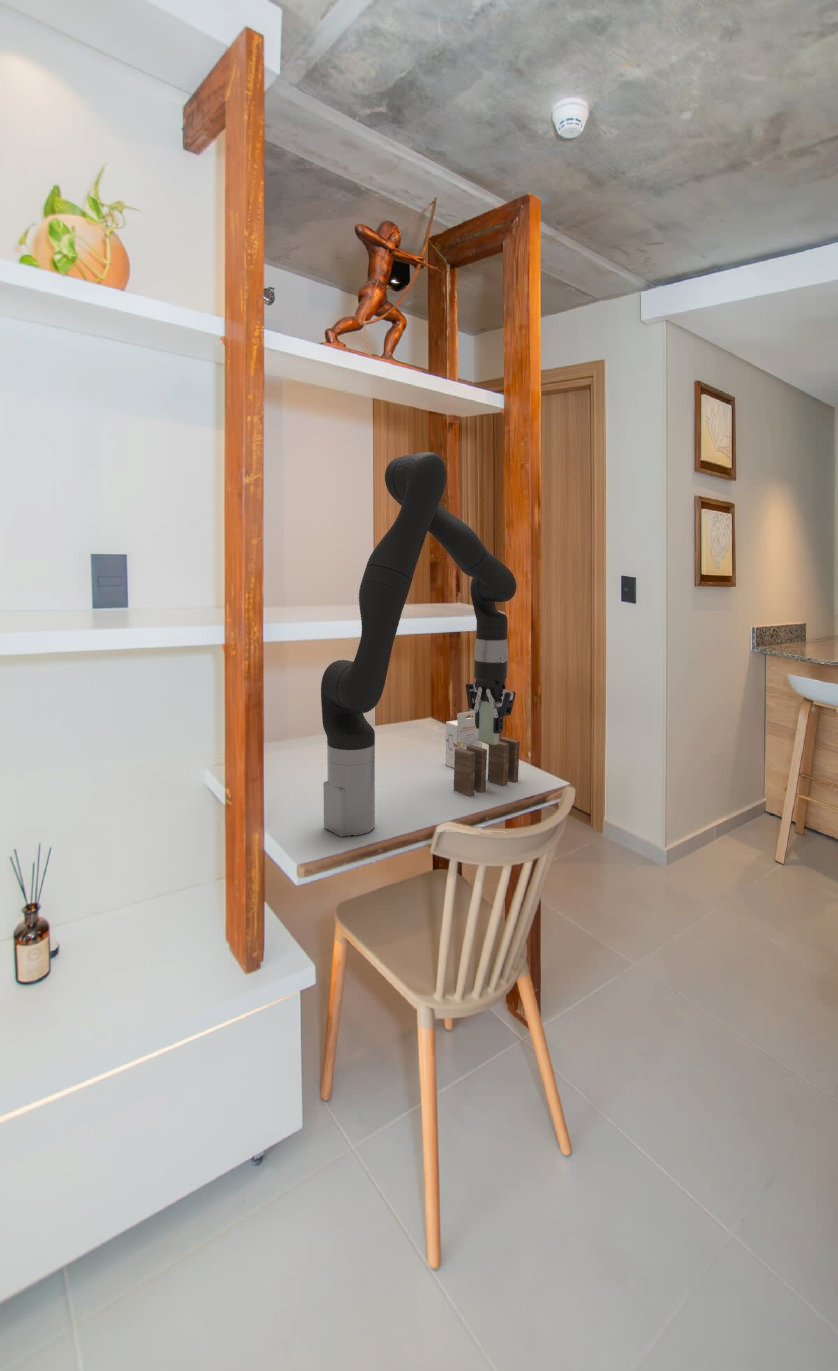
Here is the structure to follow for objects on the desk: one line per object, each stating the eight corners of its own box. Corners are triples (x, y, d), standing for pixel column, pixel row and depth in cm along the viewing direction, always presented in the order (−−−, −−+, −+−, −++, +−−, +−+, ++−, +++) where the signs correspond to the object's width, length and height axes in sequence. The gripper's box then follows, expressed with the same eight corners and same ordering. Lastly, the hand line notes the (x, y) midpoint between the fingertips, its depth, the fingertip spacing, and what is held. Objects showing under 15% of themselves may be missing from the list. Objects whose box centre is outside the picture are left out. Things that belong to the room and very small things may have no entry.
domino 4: (513, 782, 159) (515, 742, 157) (498, 777, 163) (499, 737, 161) (517, 780, 160) (519, 741, 158) (502, 775, 164) (504, 736, 162)
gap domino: (493, 745, 152) (495, 702, 150) (478, 740, 156) (479, 699, 154) (498, 743, 153) (500, 701, 151) (482, 739, 157) (484, 698, 155)
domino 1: (469, 796, 149) (470, 753, 147) (453, 790, 153) (454, 748, 151) (474, 794, 150) (475, 752, 148) (458, 788, 154) (459, 747, 152)
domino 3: (502, 785, 156) (504, 745, 155) (487, 780, 160) (489, 740, 158) (507, 784, 158) (509, 743, 156) (492, 778, 161) (493, 739, 159)
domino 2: (480, 792, 152) (482, 750, 150) (465, 786, 155) (466, 745, 153) (485, 791, 153) (487, 749, 151) (470, 785, 156) (471, 744, 154)
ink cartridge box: (469, 759, 176) (470, 705, 174) (481, 764, 173) (483, 709, 170) (444, 765, 171) (445, 709, 169) (456, 770, 168) (457, 713, 165)
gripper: (457, 656, 153) (455, 727, 157) (503, 664, 143) (500, 739, 146) (479, 653, 158) (477, 722, 162) (525, 660, 148) (522, 734, 151)
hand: (488, 730), depth 154 cm, fingers closed on gap domino, 5 cm apart
